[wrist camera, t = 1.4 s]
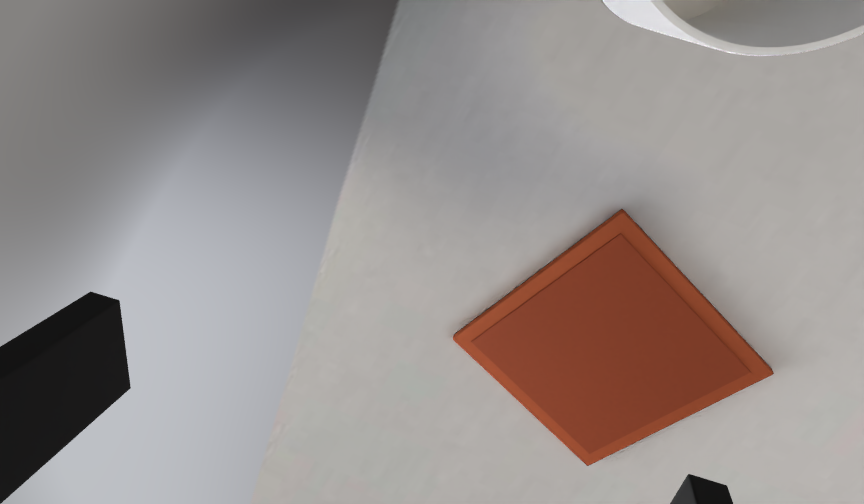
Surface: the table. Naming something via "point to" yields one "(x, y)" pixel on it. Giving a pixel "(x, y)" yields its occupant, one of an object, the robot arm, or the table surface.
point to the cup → (748, 23)
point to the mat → (611, 343)
